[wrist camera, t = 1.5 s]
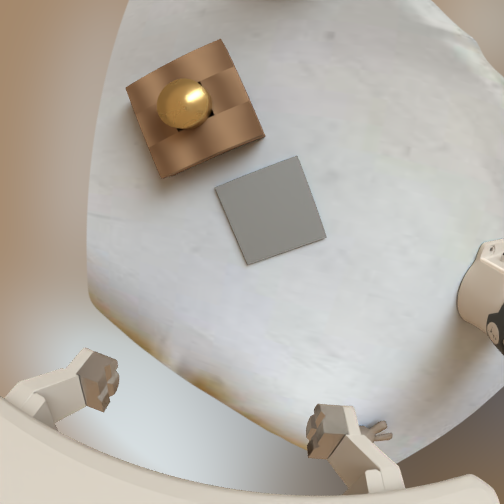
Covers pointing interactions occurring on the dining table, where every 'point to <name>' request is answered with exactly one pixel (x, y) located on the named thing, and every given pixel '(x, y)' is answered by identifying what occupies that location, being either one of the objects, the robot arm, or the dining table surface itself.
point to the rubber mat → (271, 210)
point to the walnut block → (214, 128)
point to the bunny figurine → (374, 430)
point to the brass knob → (184, 104)
